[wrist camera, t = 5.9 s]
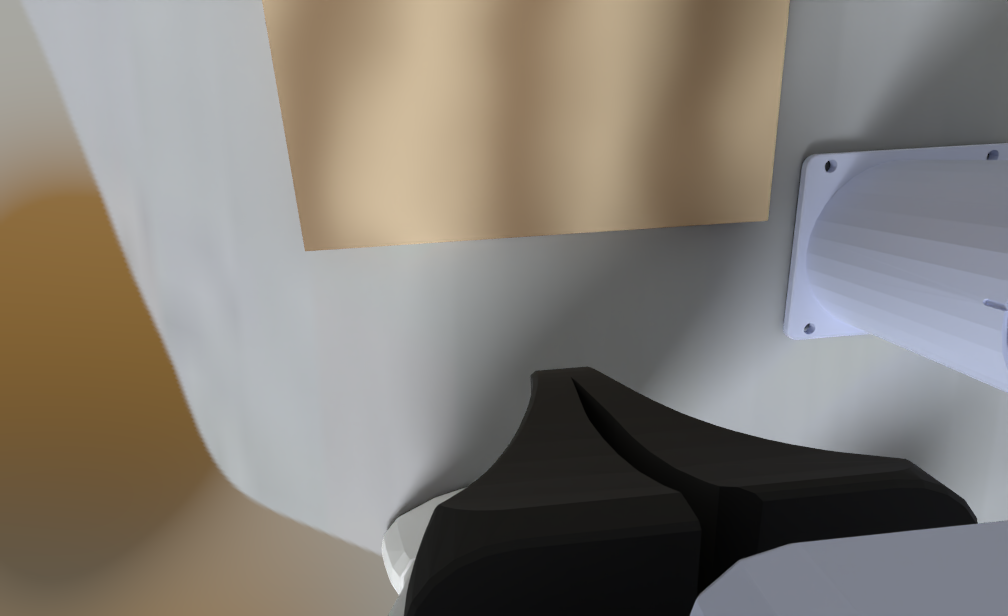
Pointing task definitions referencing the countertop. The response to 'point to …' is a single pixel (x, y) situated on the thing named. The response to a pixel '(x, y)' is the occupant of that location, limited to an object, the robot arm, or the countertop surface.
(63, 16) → the countertop surface
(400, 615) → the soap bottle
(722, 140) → the oak plank
